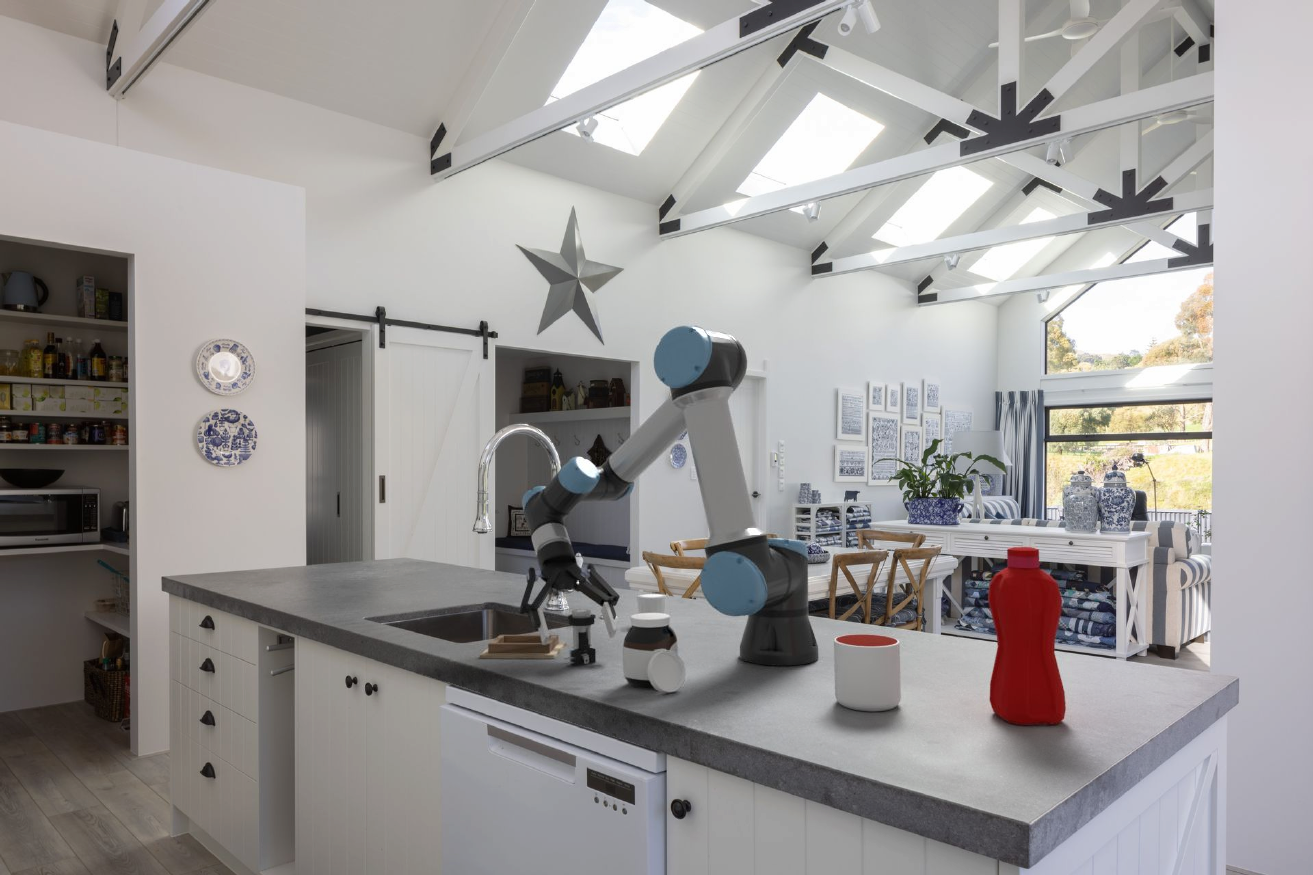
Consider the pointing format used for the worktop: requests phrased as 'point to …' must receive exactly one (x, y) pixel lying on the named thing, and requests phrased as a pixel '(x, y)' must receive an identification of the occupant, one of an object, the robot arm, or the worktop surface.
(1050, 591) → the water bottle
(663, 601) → the white cylinder
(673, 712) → the worktop surface
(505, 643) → the socket plate
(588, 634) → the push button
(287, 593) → the worktop surface
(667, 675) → the spread jar
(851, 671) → the cup
